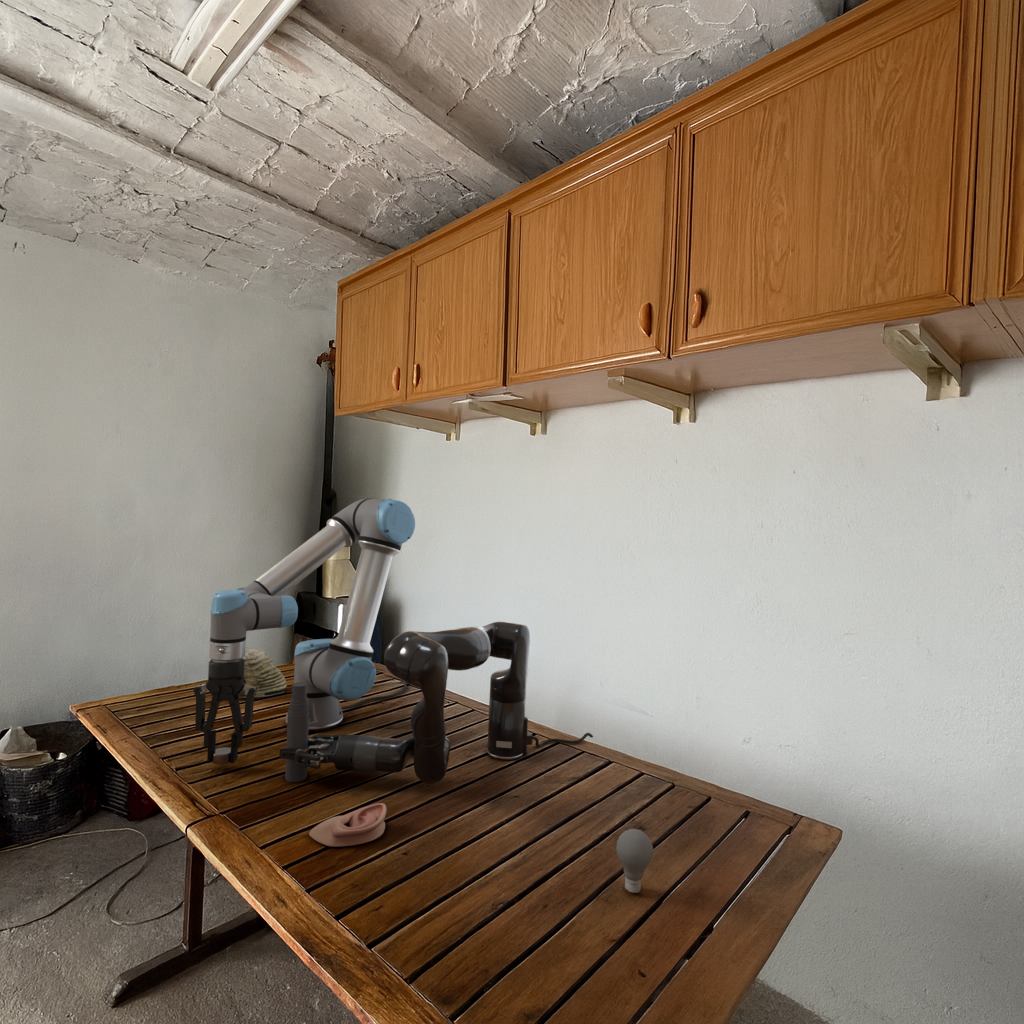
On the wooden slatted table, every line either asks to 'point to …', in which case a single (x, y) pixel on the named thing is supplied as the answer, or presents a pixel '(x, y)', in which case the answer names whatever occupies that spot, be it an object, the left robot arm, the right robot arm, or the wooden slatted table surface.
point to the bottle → (297, 730)
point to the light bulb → (634, 857)
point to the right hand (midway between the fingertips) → (285, 748)
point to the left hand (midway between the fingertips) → (222, 760)
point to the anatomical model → (352, 827)
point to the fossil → (262, 674)
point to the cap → (221, 755)
